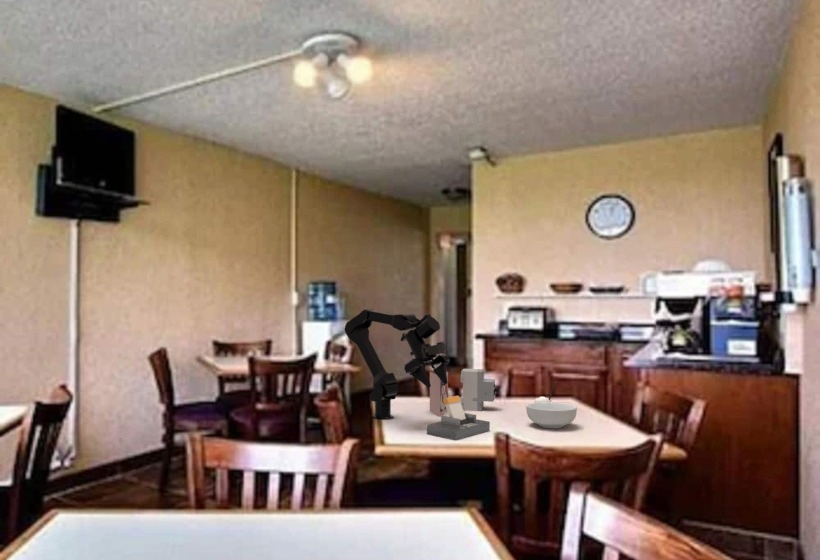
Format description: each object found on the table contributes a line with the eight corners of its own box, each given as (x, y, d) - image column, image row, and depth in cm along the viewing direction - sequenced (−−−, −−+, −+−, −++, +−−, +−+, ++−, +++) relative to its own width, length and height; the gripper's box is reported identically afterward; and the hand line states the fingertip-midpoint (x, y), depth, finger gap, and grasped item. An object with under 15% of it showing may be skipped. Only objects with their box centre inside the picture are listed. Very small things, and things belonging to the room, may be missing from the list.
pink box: (441, 417, 246) (441, 375, 246) (422, 415, 248) (422, 374, 248) (449, 411, 257) (450, 371, 257) (431, 409, 259) (431, 370, 259)
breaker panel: (426, 433, 219) (426, 417, 219) (461, 425, 232) (461, 409, 232) (455, 440, 211) (456, 422, 211) (489, 430, 224) (489, 414, 224)
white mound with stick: (529, 414, 253) (527, 382, 253) (535, 411, 258) (534, 380, 258) (553, 416, 248) (551, 384, 248) (559, 413, 253) (557, 381, 253)
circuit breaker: (497, 411, 256) (498, 372, 256) (460, 410, 259) (460, 371, 259) (499, 408, 264) (499, 369, 264) (462, 406, 266) (463, 368, 266)
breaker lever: (451, 424, 220) (442, 399, 222) (463, 421, 224) (454, 397, 227) (455, 422, 218) (446, 397, 221) (467, 419, 223) (458, 395, 226)
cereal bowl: (580, 423, 236) (580, 403, 236) (571, 433, 221) (571, 412, 221) (533, 419, 243) (533, 399, 243) (520, 428, 228) (520, 407, 228)
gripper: (416, 335, 223) (436, 377, 217) (449, 332, 237) (470, 371, 232) (395, 352, 229) (414, 393, 223) (429, 348, 243) (448, 386, 238)
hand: (438, 385), depth 229 cm, fingers open, 9 cm apart
